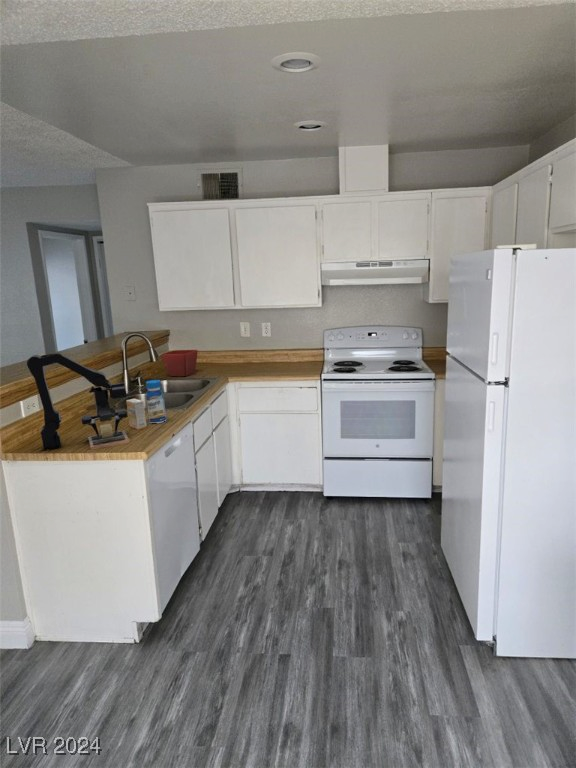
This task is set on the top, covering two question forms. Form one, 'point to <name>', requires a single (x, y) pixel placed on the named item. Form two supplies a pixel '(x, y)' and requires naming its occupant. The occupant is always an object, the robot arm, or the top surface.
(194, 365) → the plant pot
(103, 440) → the rail frame
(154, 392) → the beverage bottle
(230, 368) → the top surface
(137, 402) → the supplement box
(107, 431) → the pale yellow block
